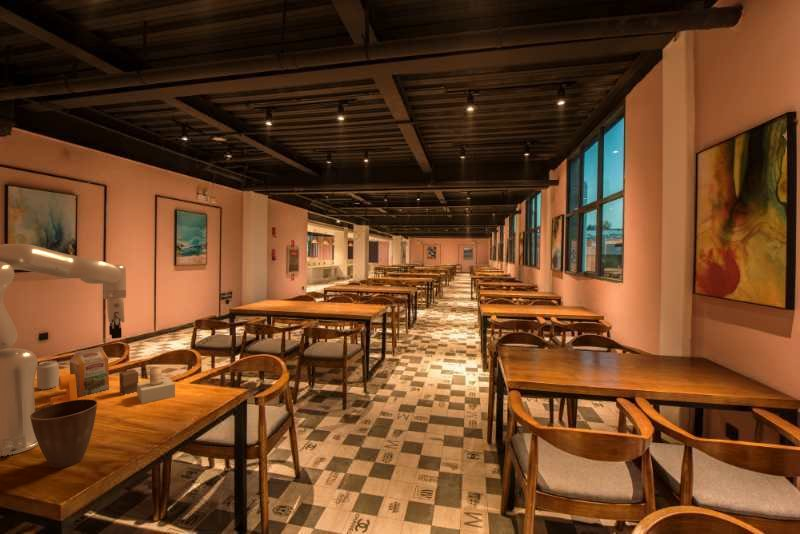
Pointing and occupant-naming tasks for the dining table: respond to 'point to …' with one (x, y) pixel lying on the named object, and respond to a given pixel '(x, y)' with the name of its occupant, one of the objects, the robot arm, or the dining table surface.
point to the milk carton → (90, 371)
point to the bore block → (155, 391)
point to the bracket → (70, 386)
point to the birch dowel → (155, 376)
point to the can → (47, 375)
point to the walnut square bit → (128, 382)
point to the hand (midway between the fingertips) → (115, 336)
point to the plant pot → (64, 430)
